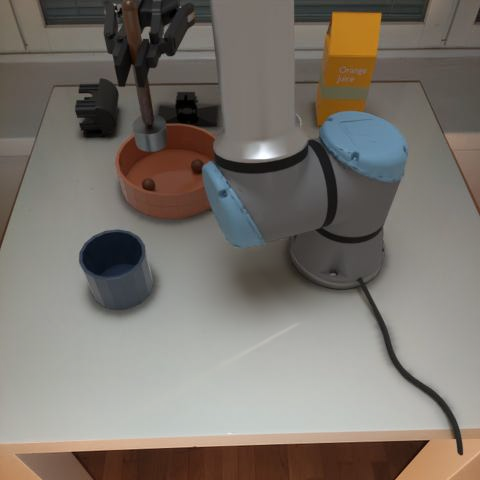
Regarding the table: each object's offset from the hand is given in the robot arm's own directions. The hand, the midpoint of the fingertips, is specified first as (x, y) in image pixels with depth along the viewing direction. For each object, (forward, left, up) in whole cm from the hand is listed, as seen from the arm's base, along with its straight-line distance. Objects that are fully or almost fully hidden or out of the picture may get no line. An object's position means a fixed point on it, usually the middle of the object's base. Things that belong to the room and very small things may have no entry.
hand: (129, 76), depth 59 cm
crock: (-8, +10, -27) cm, 30 cm away
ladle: (+5, -3, -13) cm, 15 cm away
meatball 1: (+9, -3, -25) cm, 27 cm away
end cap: (+33, -4, -27) cm, 43 cm away
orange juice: (+10, -47, -27) cm, 55 cm away
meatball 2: (+9, -13, -25) cm, 29 cm away
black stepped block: (+26, -20, -27) cm, 42 cm away
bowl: (+9, -8, -27) cm, 30 cm away
